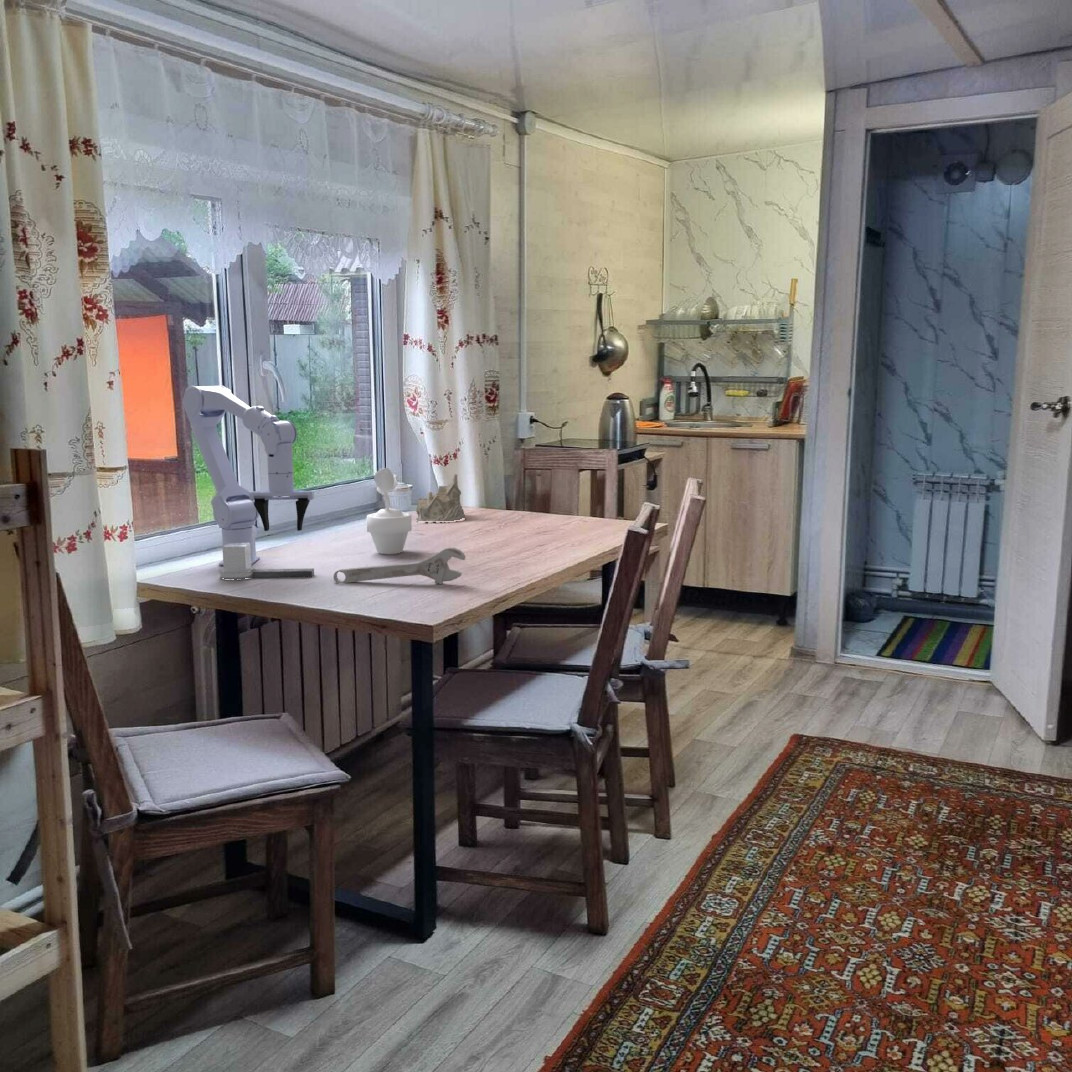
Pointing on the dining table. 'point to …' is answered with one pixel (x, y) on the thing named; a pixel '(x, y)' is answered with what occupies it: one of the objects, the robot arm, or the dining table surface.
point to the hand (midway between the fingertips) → (283, 530)
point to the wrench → (408, 569)
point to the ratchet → (269, 573)
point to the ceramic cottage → (441, 504)
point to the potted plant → (388, 518)
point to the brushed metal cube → (236, 557)
